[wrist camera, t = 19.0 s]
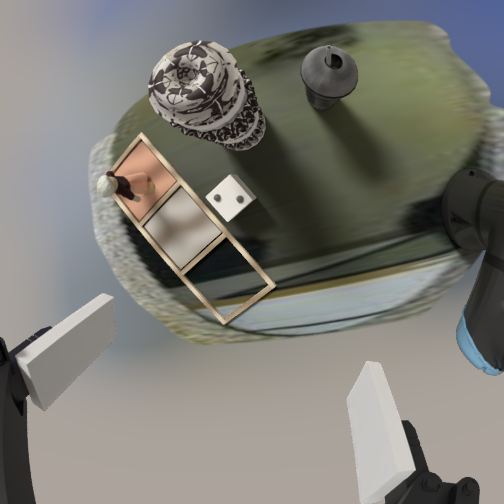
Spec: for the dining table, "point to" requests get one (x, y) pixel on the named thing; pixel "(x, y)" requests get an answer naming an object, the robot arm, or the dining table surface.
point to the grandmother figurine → (125, 185)
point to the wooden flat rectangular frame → (176, 218)
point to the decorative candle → (207, 95)
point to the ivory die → (230, 197)
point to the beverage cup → (328, 76)
